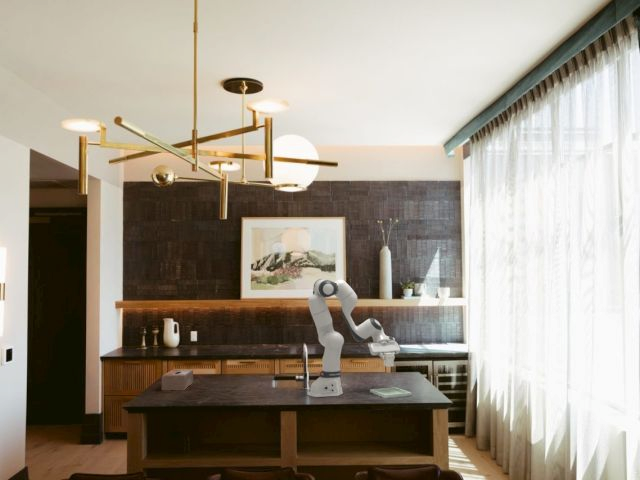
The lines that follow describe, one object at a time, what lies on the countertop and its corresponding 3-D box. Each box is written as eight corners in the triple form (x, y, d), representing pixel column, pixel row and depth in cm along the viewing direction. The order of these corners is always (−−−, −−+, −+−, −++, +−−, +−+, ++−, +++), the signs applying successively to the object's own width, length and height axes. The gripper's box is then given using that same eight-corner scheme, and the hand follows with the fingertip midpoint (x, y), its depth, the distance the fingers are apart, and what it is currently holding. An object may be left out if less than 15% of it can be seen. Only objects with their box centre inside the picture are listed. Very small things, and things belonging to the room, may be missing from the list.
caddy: (387, 367, 367) (387, 353, 367) (383, 365, 372) (383, 352, 372) (394, 366, 369) (394, 353, 369) (390, 365, 374) (390, 352, 374)
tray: (385, 398, 354) (385, 395, 355) (370, 392, 373) (370, 389, 373) (411, 396, 361) (411, 392, 361) (395, 390, 380) (395, 387, 380)
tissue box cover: (183, 391, 384) (183, 375, 385) (161, 391, 384) (161, 376, 385) (193, 384, 410) (193, 369, 411) (172, 384, 410) (172, 369, 411)
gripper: (368, 339, 374) (376, 356, 365) (396, 337, 382) (404, 354, 373) (365, 345, 378) (372, 363, 368) (393, 344, 386) (401, 361, 376)
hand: (389, 359), depth 371 cm, fingers closed on caddy, 5 cm apart
